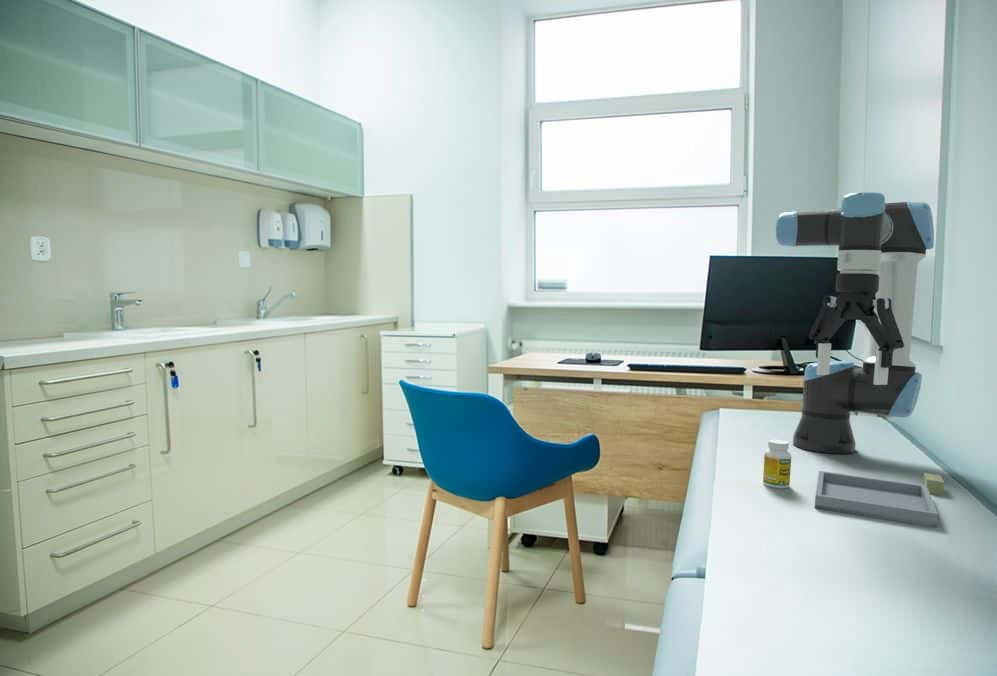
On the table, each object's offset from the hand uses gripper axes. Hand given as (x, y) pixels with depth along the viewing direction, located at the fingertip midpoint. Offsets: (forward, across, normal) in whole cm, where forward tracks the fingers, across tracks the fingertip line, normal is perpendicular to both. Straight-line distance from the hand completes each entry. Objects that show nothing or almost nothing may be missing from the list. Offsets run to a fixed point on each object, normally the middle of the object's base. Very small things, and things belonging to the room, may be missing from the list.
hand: (850, 379), depth 135 cm
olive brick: (+25, +1, +25) cm, 35 cm away
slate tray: (+24, +4, +4) cm, 25 cm away
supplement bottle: (+25, -11, -7) cm, 28 cm away
